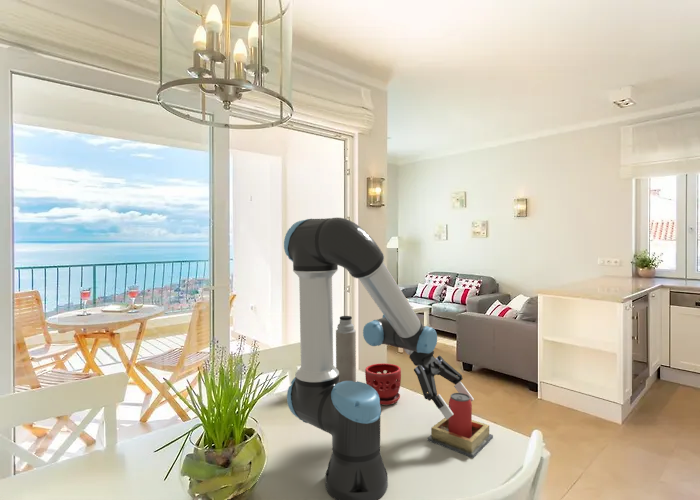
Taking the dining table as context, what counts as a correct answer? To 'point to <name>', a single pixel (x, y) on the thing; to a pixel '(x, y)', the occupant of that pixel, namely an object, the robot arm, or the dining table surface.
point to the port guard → (461, 438)
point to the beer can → (460, 415)
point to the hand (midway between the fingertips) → (461, 409)
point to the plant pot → (384, 381)
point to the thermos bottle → (346, 349)
